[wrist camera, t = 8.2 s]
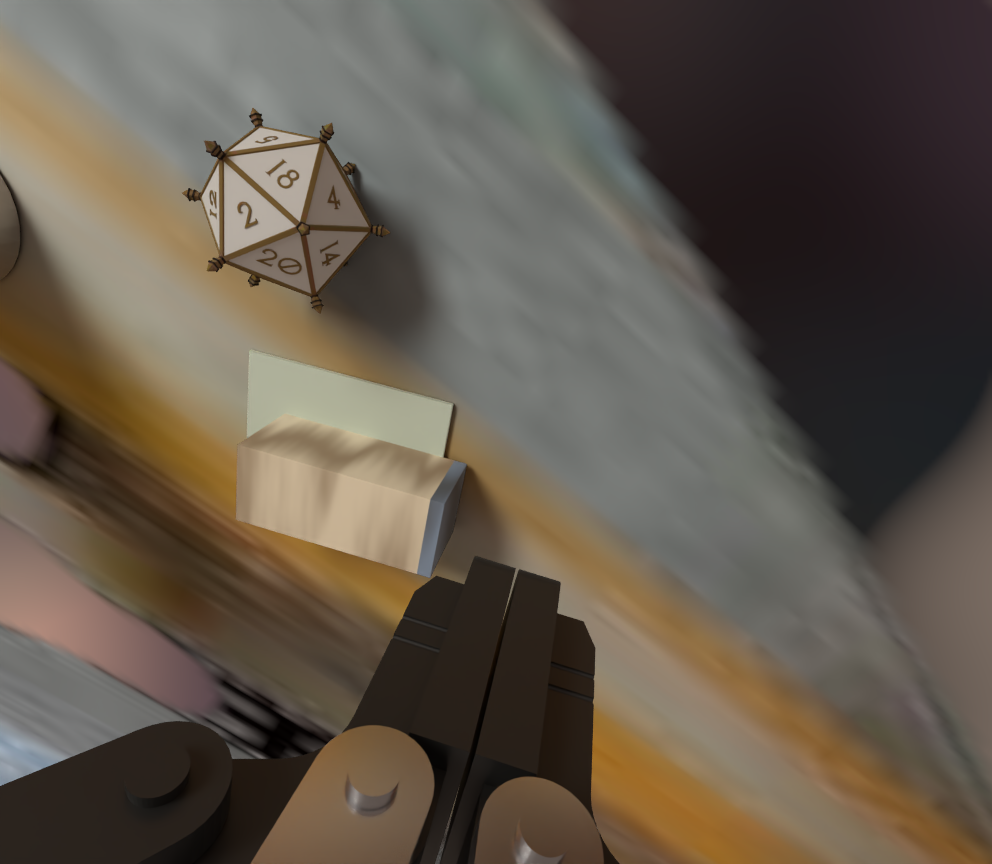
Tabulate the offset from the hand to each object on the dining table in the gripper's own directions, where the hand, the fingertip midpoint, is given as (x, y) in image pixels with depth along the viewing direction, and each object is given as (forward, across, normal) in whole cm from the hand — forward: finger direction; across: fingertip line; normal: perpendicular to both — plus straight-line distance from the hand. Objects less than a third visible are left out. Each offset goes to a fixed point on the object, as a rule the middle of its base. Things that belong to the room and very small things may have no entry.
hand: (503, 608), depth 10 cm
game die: (+24, +15, -2) cm, 28 cm away
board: (+24, +12, +12) cm, 29 cm away
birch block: (+21, +4, +12) cm, 25 cm away
